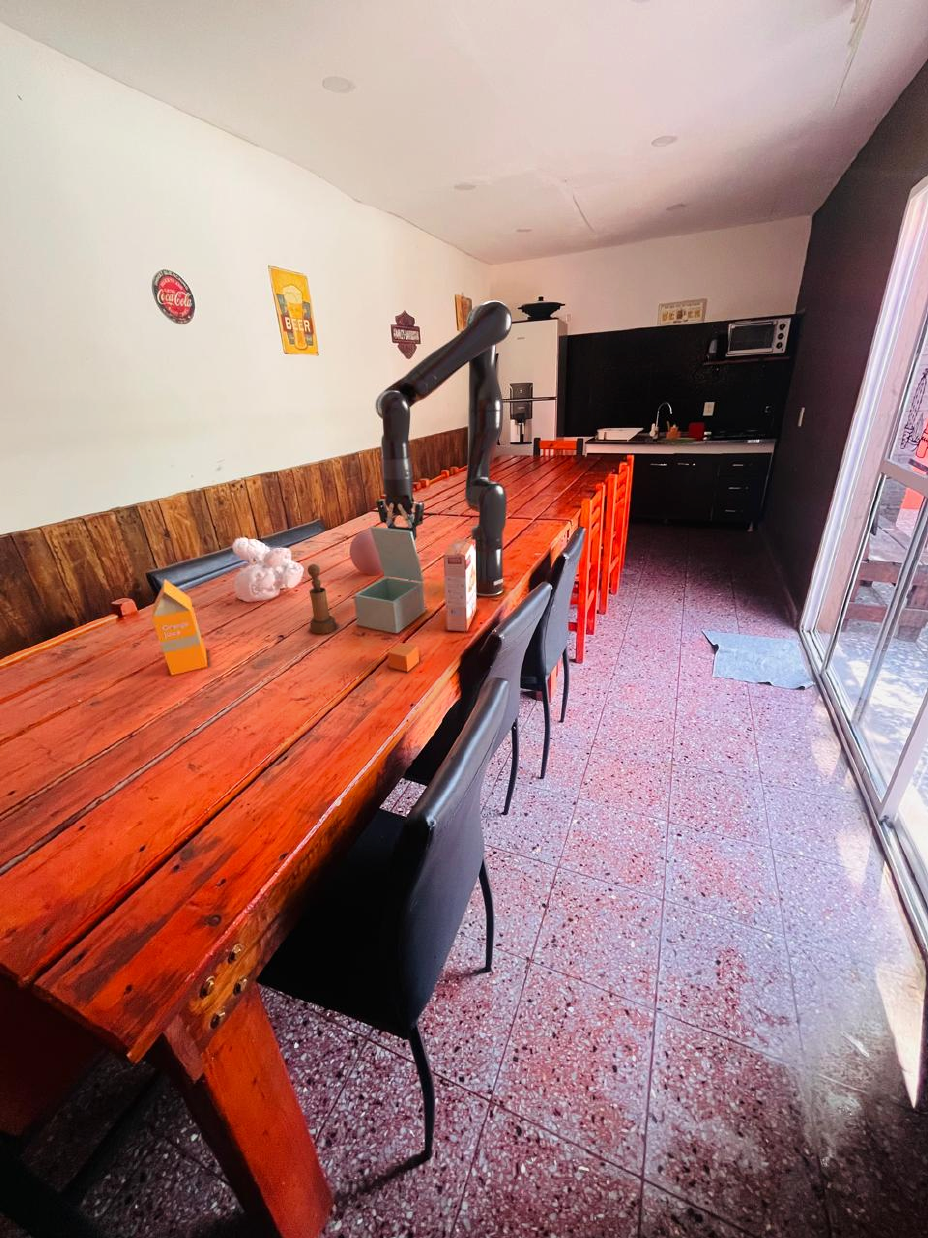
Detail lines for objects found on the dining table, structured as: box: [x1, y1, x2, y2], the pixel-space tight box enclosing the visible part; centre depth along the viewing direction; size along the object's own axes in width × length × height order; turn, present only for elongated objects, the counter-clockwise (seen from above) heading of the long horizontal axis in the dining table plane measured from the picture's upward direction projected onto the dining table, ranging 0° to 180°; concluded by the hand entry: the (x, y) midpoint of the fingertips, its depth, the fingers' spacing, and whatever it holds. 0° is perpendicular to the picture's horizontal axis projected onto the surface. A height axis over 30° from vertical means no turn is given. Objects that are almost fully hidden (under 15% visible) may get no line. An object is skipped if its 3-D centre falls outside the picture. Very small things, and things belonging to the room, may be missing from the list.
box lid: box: [369, 526, 425, 583], centre depth 134 cm, size 16×13×5 cm
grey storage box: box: [353, 576, 426, 635], centre depth 134 cm, size 15×13×9 cm
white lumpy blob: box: [231, 536, 305, 603], centre depth 154 cm, size 19×20×20 cm
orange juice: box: [151, 579, 208, 676], centre depth 113 cm, size 8×9×20 cm
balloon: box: [349, 528, 384, 576], centre depth 167 cm, size 15×20×15 cm
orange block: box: [387, 642, 420, 673], centre depth 113 cm, size 5×5×4 cm
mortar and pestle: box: [307, 563, 337, 635], centre depth 128 cm, size 7×6×18 cm
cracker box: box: [443, 538, 477, 633], centre depth 129 cm, size 14×6×21 cm, turn 168°
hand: (402, 539), depth 134 cm, fingers closed on box lid, 5 cm apart
